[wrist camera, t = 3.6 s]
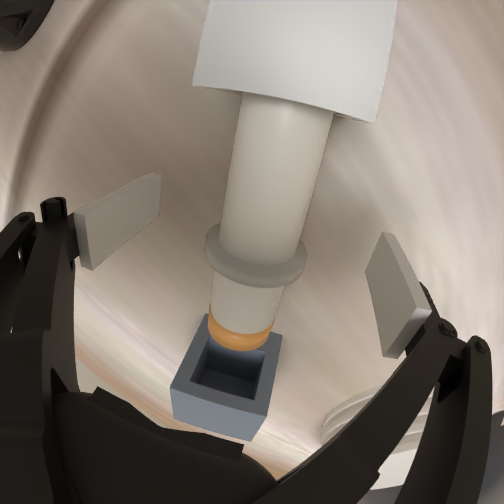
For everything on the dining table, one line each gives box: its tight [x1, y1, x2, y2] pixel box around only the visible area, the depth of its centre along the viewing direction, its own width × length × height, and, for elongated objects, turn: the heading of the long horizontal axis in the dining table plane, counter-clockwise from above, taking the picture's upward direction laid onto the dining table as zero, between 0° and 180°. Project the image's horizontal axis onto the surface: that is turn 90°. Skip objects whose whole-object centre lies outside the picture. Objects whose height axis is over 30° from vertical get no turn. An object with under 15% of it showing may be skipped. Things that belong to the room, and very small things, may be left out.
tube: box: [205, 92, 334, 351], centre depth 14 cm, size 32×7×7 cm, turn 169°
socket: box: [170, 314, 282, 442], centre depth 28 cm, size 8×9×10 cm
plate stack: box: [321, 385, 435, 489], centre depth 31 cm, size 28×28×12 cm
